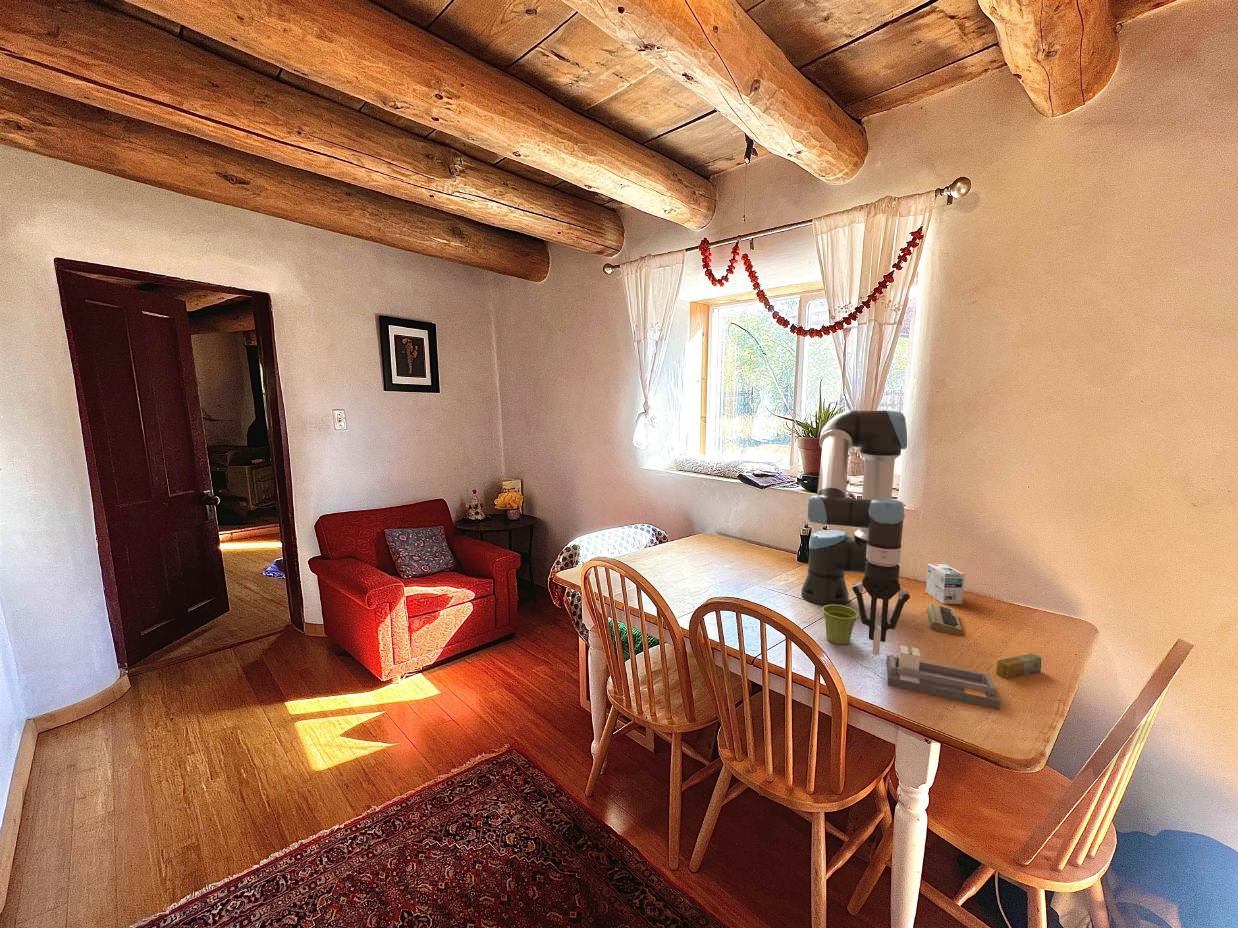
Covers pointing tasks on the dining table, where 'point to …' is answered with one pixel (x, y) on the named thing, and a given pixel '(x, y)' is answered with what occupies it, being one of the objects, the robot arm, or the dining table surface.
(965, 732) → the dining table surface
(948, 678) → the grey tray
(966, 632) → the dining table surface
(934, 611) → the computer
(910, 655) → the white cardboard box
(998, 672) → the medication box
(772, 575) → the dining table surface
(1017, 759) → the dining table surface
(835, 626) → the plant pot
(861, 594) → the robot arm
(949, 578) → the light bulb box
